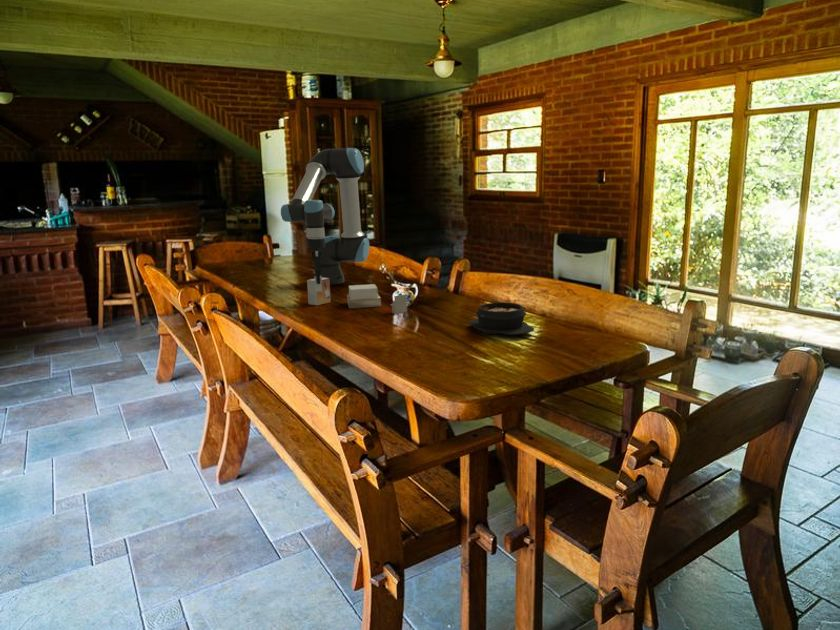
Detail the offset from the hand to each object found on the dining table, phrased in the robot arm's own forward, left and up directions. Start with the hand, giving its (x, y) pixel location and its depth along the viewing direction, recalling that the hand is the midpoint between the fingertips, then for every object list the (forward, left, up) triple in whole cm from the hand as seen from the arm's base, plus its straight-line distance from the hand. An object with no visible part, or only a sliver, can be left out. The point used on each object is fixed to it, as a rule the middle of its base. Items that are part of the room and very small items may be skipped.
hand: (318, 288), depth 252 cm
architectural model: (+26, +30, -7) cm, 40 cm away
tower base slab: (+8, +18, -7) cm, 21 cm away
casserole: (+62, +60, -7) cm, 87 cm away
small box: (0, 0, -7) cm, 7 cm away
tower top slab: (+7, +18, -3) cm, 20 cm away
